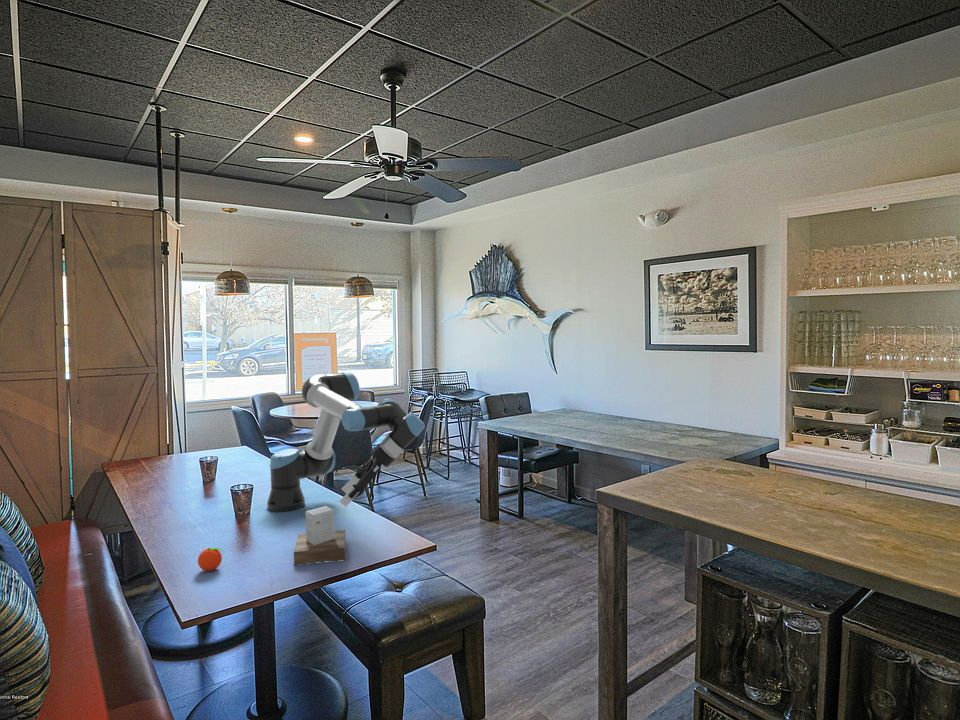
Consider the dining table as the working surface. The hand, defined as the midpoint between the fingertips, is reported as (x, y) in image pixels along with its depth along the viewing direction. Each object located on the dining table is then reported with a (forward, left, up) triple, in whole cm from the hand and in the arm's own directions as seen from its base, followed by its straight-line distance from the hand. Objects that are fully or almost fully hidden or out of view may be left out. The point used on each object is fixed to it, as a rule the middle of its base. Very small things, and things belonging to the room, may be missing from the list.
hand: (343, 497), depth 194 cm
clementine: (+5, -41, -19) cm, 45 cm away
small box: (0, -8, -15) cm, 17 cm away
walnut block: (0, -8, -19) cm, 21 cm away
